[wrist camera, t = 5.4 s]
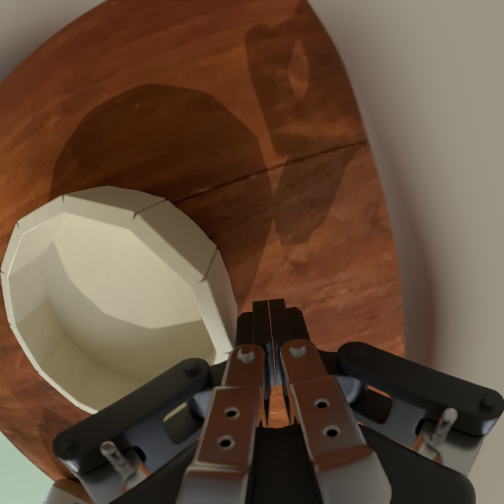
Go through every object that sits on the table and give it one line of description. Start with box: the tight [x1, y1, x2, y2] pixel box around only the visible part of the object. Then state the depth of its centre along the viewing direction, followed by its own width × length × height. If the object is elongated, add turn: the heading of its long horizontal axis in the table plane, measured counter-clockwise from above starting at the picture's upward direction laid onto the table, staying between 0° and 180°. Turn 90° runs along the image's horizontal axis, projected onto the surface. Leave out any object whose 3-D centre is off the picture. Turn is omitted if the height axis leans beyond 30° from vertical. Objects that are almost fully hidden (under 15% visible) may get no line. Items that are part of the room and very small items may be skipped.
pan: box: [1, 186, 238, 421], centre depth 15 cm, size 23×14×5 cm, turn 15°
